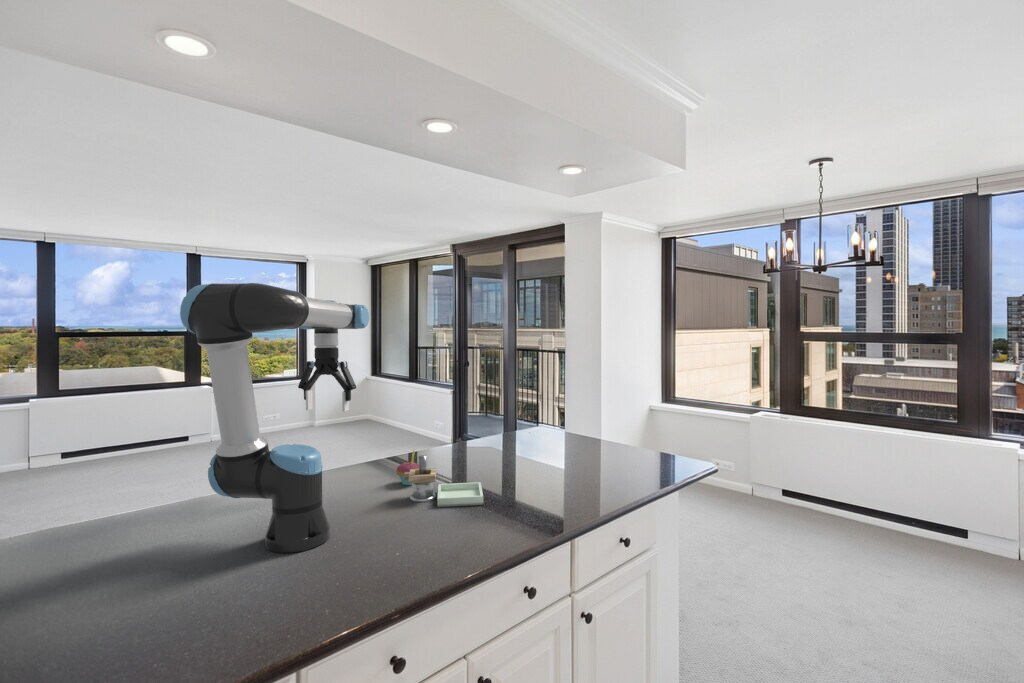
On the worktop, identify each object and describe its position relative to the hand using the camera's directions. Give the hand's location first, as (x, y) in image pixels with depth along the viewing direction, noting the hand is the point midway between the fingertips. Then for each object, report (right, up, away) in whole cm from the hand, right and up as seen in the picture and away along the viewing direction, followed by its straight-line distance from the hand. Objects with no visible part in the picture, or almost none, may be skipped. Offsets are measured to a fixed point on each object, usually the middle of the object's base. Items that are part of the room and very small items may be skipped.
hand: (327, 410), depth 169 cm
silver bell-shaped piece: (+34, -26, -11) cm, 44 cm away
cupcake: (+27, -26, +3) cm, 37 cm away
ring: (+34, -20, -12) cm, 41 cm away
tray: (+46, -26, -12) cm, 54 cm away
